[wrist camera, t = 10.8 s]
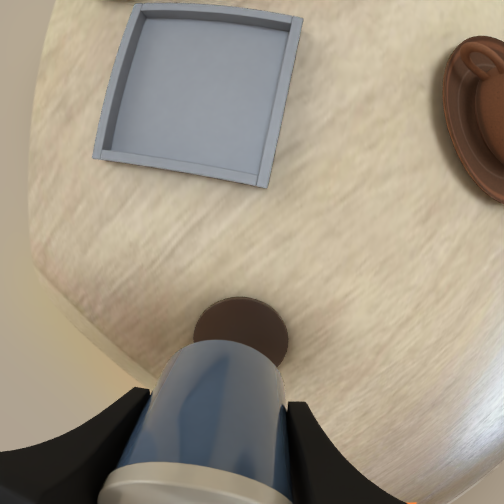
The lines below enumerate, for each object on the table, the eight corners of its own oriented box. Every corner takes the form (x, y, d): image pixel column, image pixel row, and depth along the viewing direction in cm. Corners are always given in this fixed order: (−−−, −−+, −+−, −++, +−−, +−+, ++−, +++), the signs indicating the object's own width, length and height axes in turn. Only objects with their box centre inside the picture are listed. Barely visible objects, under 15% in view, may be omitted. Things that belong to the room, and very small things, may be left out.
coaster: (189, 367, 21) (188, 370, 21) (201, 287, 20) (200, 289, 19) (275, 384, 21) (275, 388, 21) (298, 307, 20) (298, 309, 19)
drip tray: (104, 159, 18) (91, 158, 16) (143, 14, 16) (134, 3, 14) (267, 188, 18) (267, 188, 17) (300, 29, 16) (303, 18, 14)
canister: (156, 421, 13) (108, 540, 6) (164, 322, 12) (82, 451, 5) (270, 444, 13) (271, 572, 6) (302, 350, 12) (332, 501, 5)
